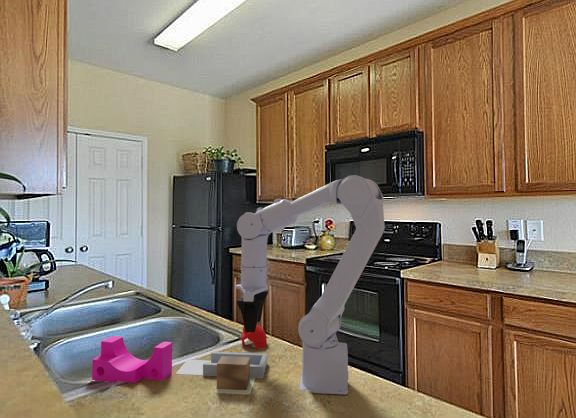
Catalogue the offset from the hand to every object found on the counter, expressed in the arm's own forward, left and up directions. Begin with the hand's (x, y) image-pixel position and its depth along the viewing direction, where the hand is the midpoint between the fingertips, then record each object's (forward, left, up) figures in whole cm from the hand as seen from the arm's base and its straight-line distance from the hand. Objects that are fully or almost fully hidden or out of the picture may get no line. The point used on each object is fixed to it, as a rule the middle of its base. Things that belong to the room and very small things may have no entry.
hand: (253, 326), depth 87 cm
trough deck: (+7, +1, -10) cm, 12 cm away
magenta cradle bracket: (+25, +6, -10) cm, 28 cm away
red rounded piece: (+2, -15, -10) cm, 18 cm away
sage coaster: (+2, +9, -10) cm, 14 cm away
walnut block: (+2, +9, -9) cm, 13 cm away
